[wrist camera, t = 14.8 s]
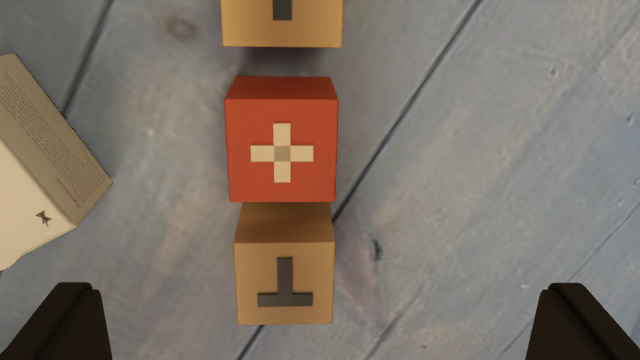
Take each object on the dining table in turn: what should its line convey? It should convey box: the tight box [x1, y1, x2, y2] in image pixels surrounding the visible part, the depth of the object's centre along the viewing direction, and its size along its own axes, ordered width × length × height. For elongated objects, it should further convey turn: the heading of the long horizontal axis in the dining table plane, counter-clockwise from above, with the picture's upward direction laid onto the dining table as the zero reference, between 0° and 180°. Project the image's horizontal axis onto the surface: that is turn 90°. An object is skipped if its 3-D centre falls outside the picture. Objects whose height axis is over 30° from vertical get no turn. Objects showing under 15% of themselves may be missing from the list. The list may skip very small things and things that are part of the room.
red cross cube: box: [224, 76, 339, 202], centre depth 23 cm, size 5×5×5 cm
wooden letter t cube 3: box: [233, 202, 335, 325], centre depth 26 cm, size 5×5×5 cm
